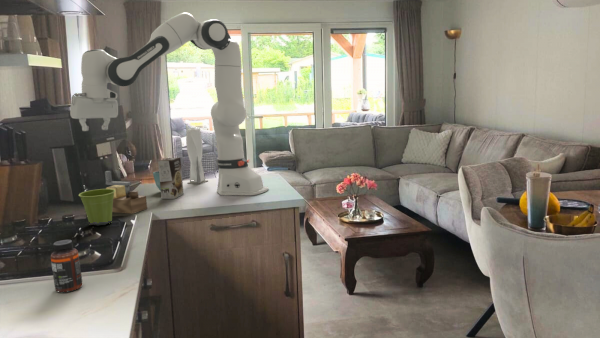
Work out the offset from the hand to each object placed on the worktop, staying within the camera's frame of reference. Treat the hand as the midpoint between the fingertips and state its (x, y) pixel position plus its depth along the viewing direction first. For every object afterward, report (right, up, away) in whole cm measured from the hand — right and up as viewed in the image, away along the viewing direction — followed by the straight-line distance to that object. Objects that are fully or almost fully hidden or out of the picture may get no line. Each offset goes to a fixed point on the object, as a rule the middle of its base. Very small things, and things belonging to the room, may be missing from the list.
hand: (95, 130), depth 200 cm
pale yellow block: (+7, -25, +4) cm, 26 cm away
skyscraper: (+28, -21, +55) cm, 65 cm away
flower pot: (+19, -25, +36) cm, 48 cm away
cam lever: (+8, -25, +3) cm, 27 cm away
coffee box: (+24, -26, +24) cm, 43 cm away
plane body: (+10, -30, +3) cm, 32 cm away
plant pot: (+9, -34, -17) cm, 39 cm away
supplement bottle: (+23, -43, -76) cm, 91 cm away
